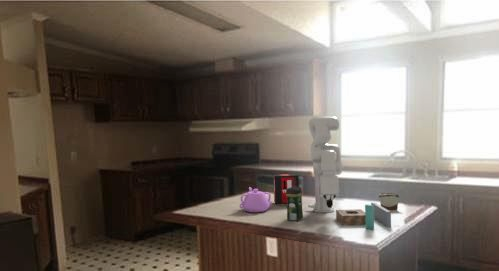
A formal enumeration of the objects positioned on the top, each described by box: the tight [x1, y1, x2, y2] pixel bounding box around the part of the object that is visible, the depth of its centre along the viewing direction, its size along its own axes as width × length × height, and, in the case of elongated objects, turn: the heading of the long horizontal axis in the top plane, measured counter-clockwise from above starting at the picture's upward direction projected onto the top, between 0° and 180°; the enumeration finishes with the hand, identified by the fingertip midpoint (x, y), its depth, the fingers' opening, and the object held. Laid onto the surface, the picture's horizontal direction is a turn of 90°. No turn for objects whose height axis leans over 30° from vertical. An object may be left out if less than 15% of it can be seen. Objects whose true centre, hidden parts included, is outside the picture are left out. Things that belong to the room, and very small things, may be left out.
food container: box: [378, 192, 400, 211], centre depth 215 cm, size 12×6×10 cm, turn 84°
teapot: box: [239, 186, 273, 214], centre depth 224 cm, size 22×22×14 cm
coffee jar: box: [286, 186, 304, 222], centre depth 196 cm, size 10×8×19 cm
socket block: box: [335, 208, 366, 226], centre depth 186 cm, size 14×14×5 cm
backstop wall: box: [370, 202, 392, 228], centre depth 186 cm, size 2×24×8 cm, turn 179°
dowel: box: [364, 203, 375, 231], centre depth 172 cm, size 4×4×12 cm
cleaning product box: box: [273, 173, 300, 205], centre depth 241 cm, size 16×9×20 cm, turn 90°
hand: (329, 207), depth 186 cm, fingers closed
